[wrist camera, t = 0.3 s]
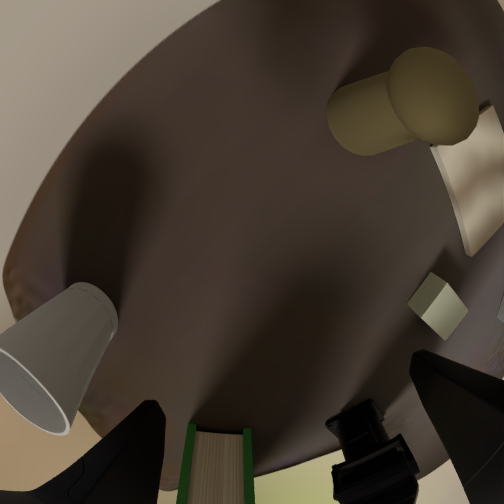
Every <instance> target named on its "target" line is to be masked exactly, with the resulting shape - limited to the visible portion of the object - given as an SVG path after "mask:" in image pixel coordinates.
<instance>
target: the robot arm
mask: <svg viewBox="0 0 504 504" xmlns="http://www.w3.org/2000/svg"><path fill="white" fill-rule="evenodd" d="M409 372H410V376H411V378H412V381H413V383H414V385H415V388H416V390H417V392H418V395H419V397H420V400H421V402H422V405H423V407H424V409H425V411H426V413H427V414H428V416H429V418H430V420H431V422H432V424H433V426H434V427H435V429H436V431H437V433H438V435H439V437H440V439H441V441H442V443H443V445H444V447H445V449H446V451H447V453H448V455H449V457H450V459H451V461H452V464H453V466H454V468H455V470H456V472H457V474H458V477H459V479H460V481H461V483H462V485H463V488H464V491H465V493H466V495H467V498H468V500H469V503H470V504H504V380H502V379H498V378H496V377H494V376H491V375H488V374H486V373H483V372H480V371H478V370H475V369H473V368H470V367H467V366H465V365H462V364H460V363H457V362H455V361H452V360H450V359H447V358H445V357H442V356H440V355H437V354H435V353H432V352H430V351H427V350H425V349H421V350H419V351H416V352H414V353H413V355H412V359H411V364H410V369H409ZM383 421H384V417H383V415H382V414H381V412H380V410H379V409H378V407H377V406H376V404H375V403H374V401H373V400H372V399H369V400H367V401H365V402H364V403H362V404H360V405H359V406H357V407H355V408H353V409H351V410H350V411H348V412H346V413H344V414H342V415H340V416H338V417H336V418H334V419H333V420H331V421H329V422H327V423H326V424H325V425H326V428H327V429H328V430H330V431H331V432H332V433H333V434H334V435H335V436H336V437H337V438H338V439H339V442H340V445H341V448H342V451H343V455H344V458H345V462H342V463H340V464H337V465H336V464H335V465H333V466H332V472H331V474H332V478H333V485H334V487H333V498H334V500H336V501H338V502H339V503H340V504H416V500H417V496H418V492H419V487H418V486H419V485H418V482H417V480H416V478H415V476H417V475H419V474H420V470H419V468H418V465H417V463H416V461H415V459H414V457H413V455H412V453H411V451H410V449H409V447H408V446H407V444H406V442H405V440H404V438H403V437H402V435H401V433H400V434H398V435H397V436H396V437H394V438H392V439H391V440H390V439H389V437H388V435H387V433H386V431H385V428H384V426H383V424H382V422H383ZM165 427H166V417H165V414H164V412H163V411H162V409H161V407H160V406H159V404H158V402H157V401H156V400H145V401H143V402H142V403H141V404H140V405H139V406H138V407H137V408H136V409H135V410H133V411H132V412H131V413H130V414H129V415H128V416H127V417H126V418H125V419H124V420H122V421H121V422H120V423H119V424H118V425H117V426H116V427H115V428H114V429H113V430H111V431H110V432H109V433H108V434H107V435H106V436H105V437H104V438H102V439H101V440H100V441H99V442H98V443H97V444H96V445H95V446H93V447H92V448H91V449H90V450H89V451H88V452H87V453H85V454H84V455H83V456H82V457H81V458H79V459H78V460H77V461H76V462H75V463H73V464H72V465H71V466H70V467H68V468H67V469H66V470H64V471H63V472H61V473H60V474H59V475H57V476H56V477H54V478H53V479H51V480H50V481H48V482H46V483H45V484H43V485H42V486H40V487H38V488H36V489H34V490H31V491H22V492H21V491H5V490H0V504H157V499H158V492H159V485H160V478H161V472H162V465H163V459H164V448H165Z"/></svg>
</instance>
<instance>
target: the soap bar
mask: <svg viewBox="0 0 504 504" xmlns="http://www.w3.org/2000/svg"><path fill="white" fill-rule="evenodd" d="M407 305H408V306H409V307H410V308H411V309H412V310H413V311H414V312H415V313H416V314H417V315H418V316H419V317H420V318H421V319H422V320H424V321H425V322H426V323H427V324H428V325H429V326H430V327H431V328H432V329H433V330H434V331H435V332H436V333H437V334H438V335H439V336H440V337H441V338H442V339H443V340H444V341H446V339H447V338H448V337H449V336H450V334H451V333H452V332H453V331H454V329H455V328H456V327H457V326H458V324H459V323H460V322H461V320H462V319H463V318H464V316H465V315H466V314H467V312H468V310H467V308H466V307H465V305H464V304H463V303H462V301H461V300H460V299H459V297H458V296H457V295H456V293H455V292H454V291H453V289H452V288H451V287H450V286H449V284H448V283H447V282H445V281H444V280H442V279H441V278H439V277H438V276H436V275H435V274H433V273H432V272H430V273H429V275H428V276H427V278H426V279H425V280H424V282H423V283H422V284H421V286H420V287H419V288H418V290H417V291H416V292H415V294H414V295H413V296H412V298H411V299H410V300H409V301H408V303H407Z"/></svg>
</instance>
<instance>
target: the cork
mask: <svg viewBox="0 0 504 504" xmlns="http://www.w3.org/2000/svg"><path fill="white" fill-rule="evenodd" d="M326 116H327V122H328V126H329V128H330V130H331V133H332V135H333V137H334V138H335V139H336V140H337V141H338V143H339V144H340V145H341V146H342V147H344V148H345V149H347V150H348V151H350V152H351V153H354V154H357V155H361V156H373V155H376V154H379V153H382V152H384V151H387V150H390V149H393V148H395V147H398V146H401V145H404V144H407V143H410V142H413V141H416V140H418V139H421V140H423V141H425V142H427V143H430V144H433V145H443V146H453V145H455V144H457V143H460V142H462V141H464V140H466V139H468V137H469V136H470V135H471V133H472V132H473V131H474V129H475V128H476V126H477V123H478V119H479V102H478V98H477V93H476V90H475V88H474V85H473V83H472V81H471V79H470V77H469V76H468V74H467V73H466V71H465V70H464V68H463V67H462V66H461V65H460V64H459V63H458V62H457V61H456V60H455V59H454V58H453V57H452V56H450V55H449V54H447V53H446V52H444V51H441V50H438V49H434V48H431V47H427V46H426V47H418V48H411V49H408V50H407V51H405V52H404V53H402V54H401V55H400V56H398V57H397V58H396V59H395V60H394V62H393V64H392V65H391V68H390V70H389V71H387V72H383V73H380V74H377V75H374V76H371V77H368V78H365V79H362V80H359V81H356V82H353V83H351V84H348V85H345V86H342V87H340V88H339V89H338V90H337V91H335V92H334V93H333V94H332V96H331V98H330V100H329V101H328V105H327V112H326Z"/></svg>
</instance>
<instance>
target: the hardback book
mask: <svg viewBox="0 0 504 504" xmlns="http://www.w3.org/2000/svg"><path fill="white" fill-rule="evenodd" d="M176 504H255V495H254V476H253V456H252V436H251V428H243V433H242V435H234V434H219V433H208V432H199V431H197V429H196V424H191V423H188V428H187V434H186V441H185V447H184V453H183V460H182V466H181V473H180V480H179V487H178V494H177V501H176Z"/></svg>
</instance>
